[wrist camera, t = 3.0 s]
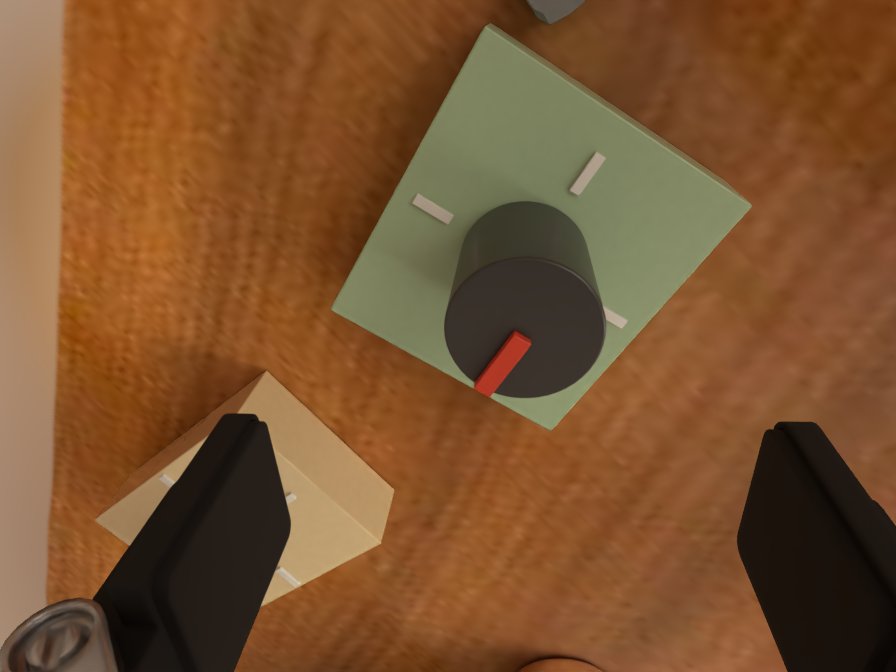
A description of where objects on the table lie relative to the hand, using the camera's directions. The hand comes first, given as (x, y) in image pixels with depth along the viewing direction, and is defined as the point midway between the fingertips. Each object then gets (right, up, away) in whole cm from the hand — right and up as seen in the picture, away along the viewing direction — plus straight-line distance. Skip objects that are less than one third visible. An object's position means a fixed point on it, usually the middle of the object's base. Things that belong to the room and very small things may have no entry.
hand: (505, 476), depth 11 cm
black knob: (+2, +5, +9) cm, 11 cm away
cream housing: (-11, -5, +20) cm, 23 cm away
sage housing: (+2, +7, +12) cm, 14 cm away
